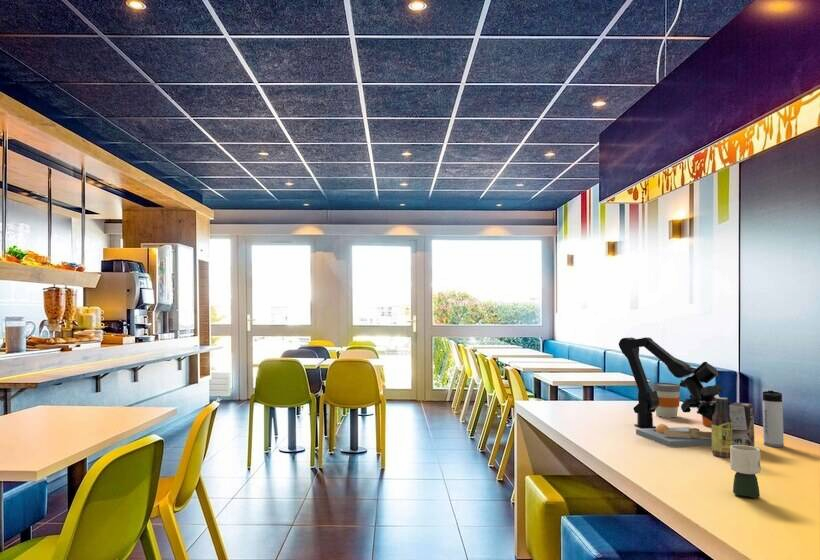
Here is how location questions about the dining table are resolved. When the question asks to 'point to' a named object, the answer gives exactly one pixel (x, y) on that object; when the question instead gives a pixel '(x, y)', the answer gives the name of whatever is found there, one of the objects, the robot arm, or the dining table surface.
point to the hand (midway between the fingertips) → (717, 423)
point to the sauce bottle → (721, 429)
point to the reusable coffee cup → (667, 399)
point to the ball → (661, 428)
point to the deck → (671, 440)
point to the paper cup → (706, 421)
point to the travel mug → (773, 419)
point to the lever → (688, 433)
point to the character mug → (745, 469)
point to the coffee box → (742, 424)
